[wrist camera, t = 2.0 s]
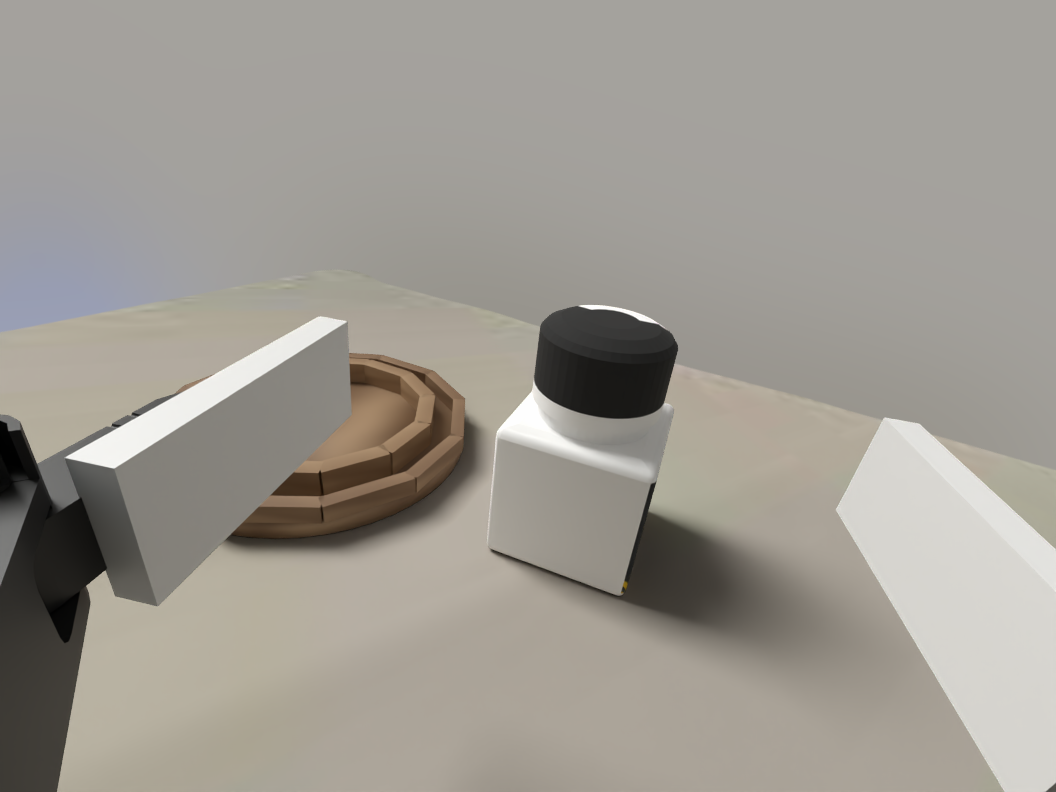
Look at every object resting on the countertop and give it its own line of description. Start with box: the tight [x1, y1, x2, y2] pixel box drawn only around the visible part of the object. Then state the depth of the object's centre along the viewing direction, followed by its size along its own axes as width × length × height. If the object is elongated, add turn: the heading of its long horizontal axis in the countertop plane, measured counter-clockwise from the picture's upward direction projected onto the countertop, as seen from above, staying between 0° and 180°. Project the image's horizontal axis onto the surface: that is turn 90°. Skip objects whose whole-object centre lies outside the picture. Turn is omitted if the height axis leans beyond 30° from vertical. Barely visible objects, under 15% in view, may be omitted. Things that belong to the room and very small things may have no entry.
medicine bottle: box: [487, 305, 678, 596], centre depth 24 cm, size 7×7×12 cm
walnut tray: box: [175, 353, 465, 539], centre depth 32 cm, size 18×18×2 cm
